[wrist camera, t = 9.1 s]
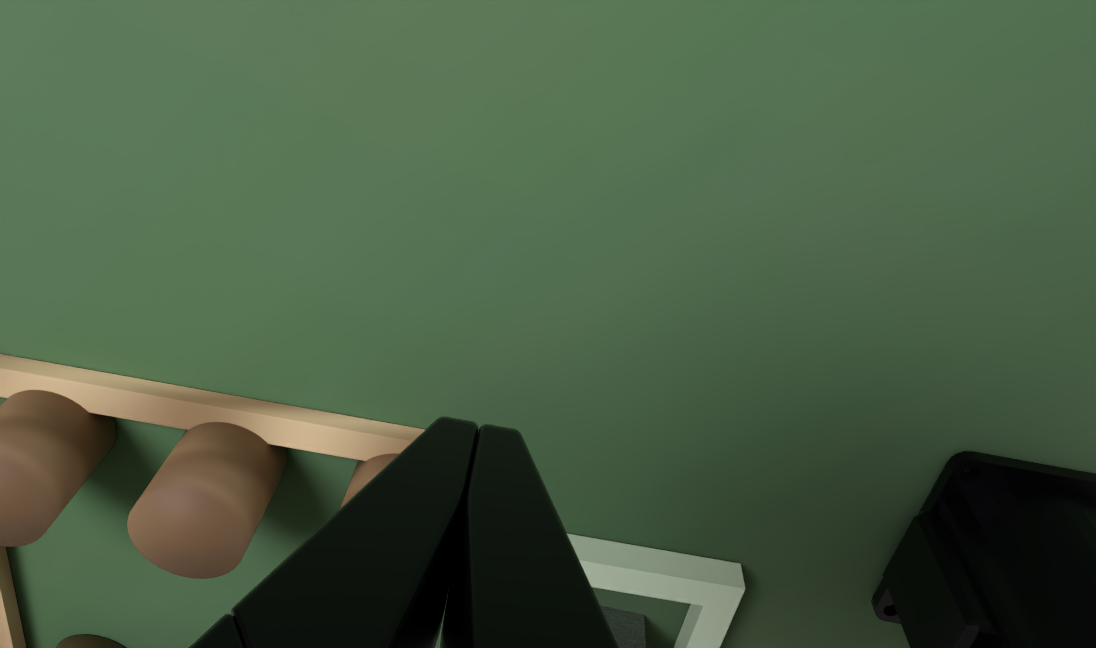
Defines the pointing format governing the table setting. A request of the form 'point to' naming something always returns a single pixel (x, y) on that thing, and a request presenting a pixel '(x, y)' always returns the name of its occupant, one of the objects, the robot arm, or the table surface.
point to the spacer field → (181, 482)
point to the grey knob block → (626, 627)
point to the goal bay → (668, 583)
